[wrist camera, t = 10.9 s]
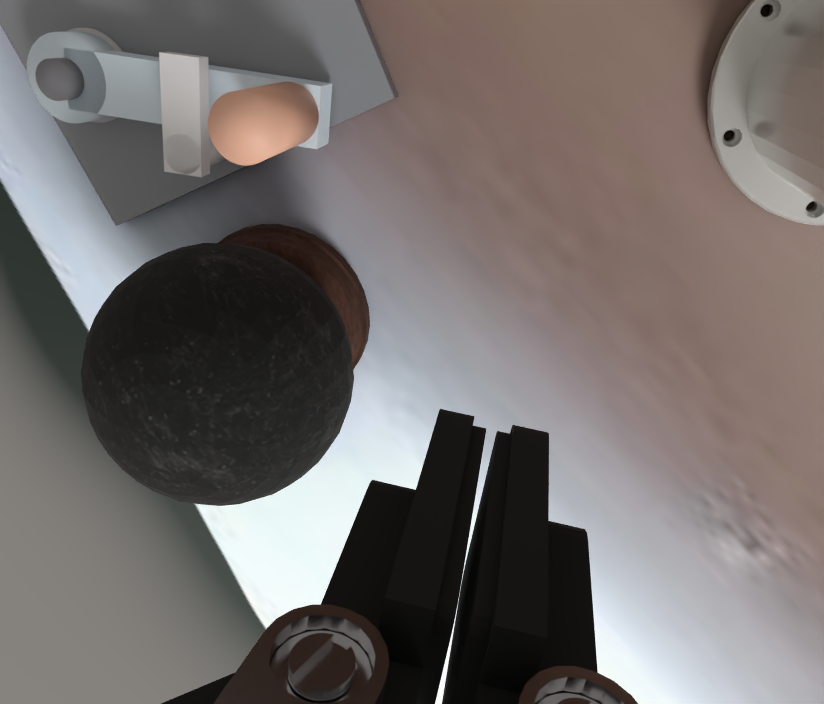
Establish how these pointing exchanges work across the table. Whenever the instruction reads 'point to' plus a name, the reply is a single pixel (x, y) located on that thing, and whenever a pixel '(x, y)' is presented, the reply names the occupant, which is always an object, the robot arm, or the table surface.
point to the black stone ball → (226, 364)
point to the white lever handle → (141, 96)
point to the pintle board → (225, 46)
